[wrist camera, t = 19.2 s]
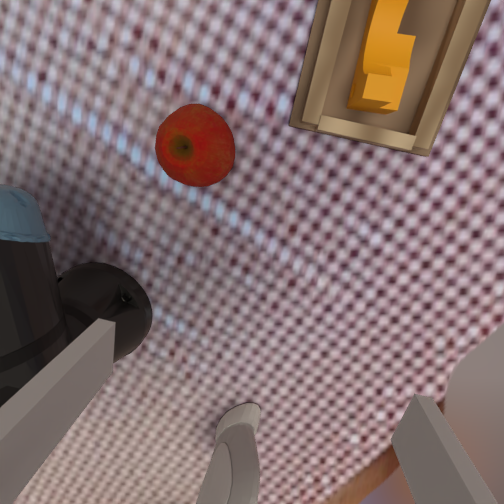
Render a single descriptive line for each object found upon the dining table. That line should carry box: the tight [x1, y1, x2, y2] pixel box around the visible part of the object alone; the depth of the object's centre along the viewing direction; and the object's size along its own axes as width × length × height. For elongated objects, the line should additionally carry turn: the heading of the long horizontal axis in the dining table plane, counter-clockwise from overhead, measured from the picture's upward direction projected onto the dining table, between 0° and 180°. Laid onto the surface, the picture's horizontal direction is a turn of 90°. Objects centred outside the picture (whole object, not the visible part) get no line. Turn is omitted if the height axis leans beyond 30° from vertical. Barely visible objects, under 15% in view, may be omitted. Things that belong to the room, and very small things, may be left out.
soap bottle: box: [196, 403, 261, 504], centre depth 37 cm, size 13×8×24 cm, turn 139°
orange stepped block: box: [346, 0, 416, 115], centre depth 27 cm, size 12×4×6 cm, turn 171°
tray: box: [289, 0, 491, 156], centre depth 29 cm, size 16×18×3 cm
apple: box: [155, 104, 235, 187], centre depth 30 cm, size 8×8×11 cm
